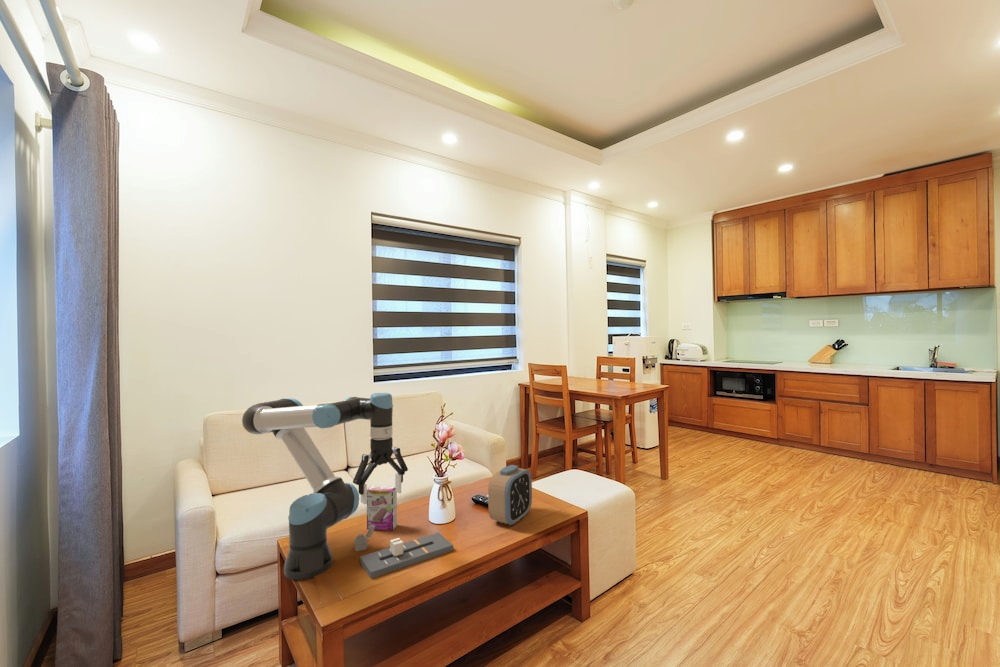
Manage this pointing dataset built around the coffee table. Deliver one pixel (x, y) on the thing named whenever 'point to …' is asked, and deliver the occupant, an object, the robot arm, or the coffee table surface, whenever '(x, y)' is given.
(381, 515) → the candy bar box
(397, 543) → the fader knob
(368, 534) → the lighter
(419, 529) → the coffee table surface
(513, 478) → the alarm clock
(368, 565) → the console
